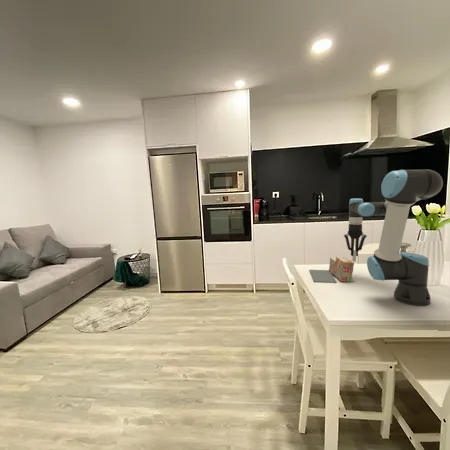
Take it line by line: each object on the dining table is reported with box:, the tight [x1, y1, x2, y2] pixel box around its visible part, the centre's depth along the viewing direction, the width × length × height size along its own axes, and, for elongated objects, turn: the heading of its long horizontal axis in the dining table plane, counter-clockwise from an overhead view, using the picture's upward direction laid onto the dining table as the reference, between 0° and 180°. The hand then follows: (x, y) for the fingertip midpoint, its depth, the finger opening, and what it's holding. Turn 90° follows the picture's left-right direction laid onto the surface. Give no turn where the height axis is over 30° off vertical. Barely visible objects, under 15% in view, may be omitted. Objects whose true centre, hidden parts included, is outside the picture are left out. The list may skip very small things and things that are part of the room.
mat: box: [308, 269, 337, 284], centre depth 174 cm, size 24×13×1 cm, turn 169°
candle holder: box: [399, 242, 412, 253], centre depth 171 cm, size 9×9×20 cm
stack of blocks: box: [328, 256, 355, 283], centre depth 172 cm, size 21×6×12 cm, turn 178°
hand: (354, 260), depth 170 cm, fingers closed
